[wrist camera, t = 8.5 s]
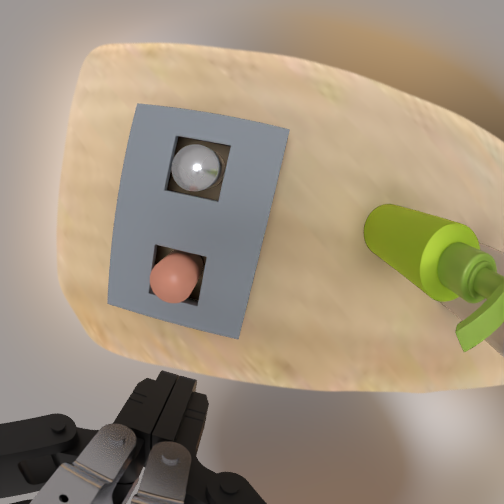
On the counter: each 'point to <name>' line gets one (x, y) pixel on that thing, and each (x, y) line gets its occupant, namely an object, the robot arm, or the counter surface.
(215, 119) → the plug board
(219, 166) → the steel plug
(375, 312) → the counter surface
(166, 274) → the terracotta plug
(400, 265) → the soap dispenser
